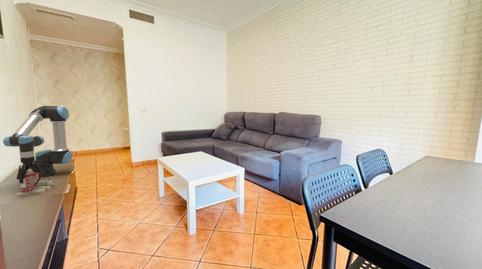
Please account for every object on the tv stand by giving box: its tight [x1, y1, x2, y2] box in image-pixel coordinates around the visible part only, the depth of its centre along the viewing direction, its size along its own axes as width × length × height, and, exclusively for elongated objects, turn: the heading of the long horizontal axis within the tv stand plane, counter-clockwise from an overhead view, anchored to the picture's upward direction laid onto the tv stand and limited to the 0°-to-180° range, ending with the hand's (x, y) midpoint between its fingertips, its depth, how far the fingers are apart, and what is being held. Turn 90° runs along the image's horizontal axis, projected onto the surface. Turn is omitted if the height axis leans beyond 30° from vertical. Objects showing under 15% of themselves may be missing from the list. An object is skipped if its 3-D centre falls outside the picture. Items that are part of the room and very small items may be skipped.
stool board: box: [15, 179, 55, 197], centre depth 165 cm, size 18×14×6 cm
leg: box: [34, 179, 53, 186], centre depth 170 cm, size 15×4×4 cm, turn 109°
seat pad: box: [19, 187, 41, 193], centre depth 162 cm, size 11×11×1 cm
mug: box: [16, 170, 42, 192], centre depth 161 cm, size 13×9×14 cm
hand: (30, 184), depth 161 cm, fingers open, 13 cm apart
